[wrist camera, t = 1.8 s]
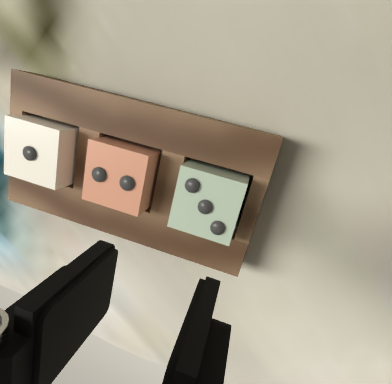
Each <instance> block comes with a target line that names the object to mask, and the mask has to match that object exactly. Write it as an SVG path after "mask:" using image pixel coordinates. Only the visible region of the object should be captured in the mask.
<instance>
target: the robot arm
mask: <svg viewBox="0 0 392 384" xmlns="http://www.w3.org/2000/svg"><path fill="white" fill-rule="evenodd" d="M117 256H118V250H116V249H115V245H114V244H111V243H108V242H105V241H102V240H100V241H98V242H97V243H95V244H94V245H93V246H91V247H90V248H89V249H88V250H86V251H85V252H84V253H82V254H81V255H80V256H78V257H77V258H76V259H75V260H73V261H72V262H71V263H69V264H68V265H67V266H63V267H61V268H60V269H59V270H57V271H56V272H55V273H53V274H52V275H51V276H49V277H48V278H47V279H45V280H44V281H43V282H41V283H40V284H39V285H37V286H36V287H35V288H34V289H32V290H31V291H30V292H28V293H27V294H26V295H24V296H23V297H22V298H20V299H19V300H18V301H16V302H15V303H14V304H12V305H11V306H10V307H8V308H7V309H6V310H5V311H4V310H3V309H0V384H51V383H52V382H53V380H54V379H55V378H56V377H57V375H58V374H59V373H60V372H61V370H62V369H63V368H64V366H65V365H66V364H67V363H68V361H69V360H70V359H71V358H72V356H73V355H74V354H75V352H76V351H77V350H78V349H79V347H80V346H81V345H82V344H83V342H84V341H85V340H86V338H87V337H88V336H89V335H90V333H91V332H92V331H93V330H94V328H95V327H96V326H97V324H98V323H99V322H100V321H101V319H102V318H103V317H104V315H105V314H106V312H107V310H108V308H109V304H110V298H111V292H112V286H113V280H114V274H115V268H116V262H117ZM219 286H220V281H219V280H216V279H213V278H210V277H206V280H203V279H200V280H199V282H198V285H197V288H196V290H195V293H194V296H193V298H192V301H191V304H190V306H189V309H188V312H187V314H186V317H185V319H184V322H183V325H182V327H181V330H180V333H179V335H178V338H177V341H176V343H175V346H174V349H173V351H172V354H171V357H170V360H169V363H168V366H167V369H166V372H165V376H164V379H163V383H162V384H223V383H224V376H225V369H226V361H227V354H228V347H229V340H230V333H231V325H229V324H226V323H224V322H221V321H218V320H215V319H213V318H212V314H213V310H214V306H215V302H216V298H217V294H218V290H219Z"/></svg>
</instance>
